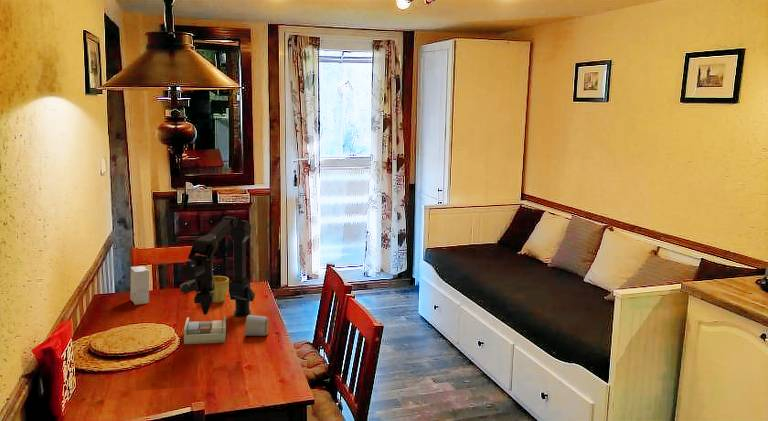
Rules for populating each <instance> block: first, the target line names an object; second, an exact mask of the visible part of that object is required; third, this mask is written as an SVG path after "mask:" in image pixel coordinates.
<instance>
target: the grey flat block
mask: <svg viewBox="0 0 768 421" xmlns="http://www.w3.org/2000/svg"><path fill="white" fill-rule="evenodd" d="M200 323H201V321H189V326H188V335H191V334H198V333H199V328H200Z"/></svg>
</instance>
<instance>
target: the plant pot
mask: <svg viewBox="0 0 768 421" xmlns="http://www.w3.org/2000/svg"><path fill="white" fill-rule="evenodd" d="M213 282H214V283H215V290H213V291H210V292H212V293H214V296H213V302H212V304H214V303H216V304H217V303H222V302H224V301H225V299H226V294H227V291H228V288H229V282H230V279H229V277H227V276H223V275H213Z"/></svg>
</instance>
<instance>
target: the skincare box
mask: <svg viewBox="0 0 768 421" xmlns="http://www.w3.org/2000/svg"><path fill="white" fill-rule="evenodd" d="M129 297H130V298H129V299H130V301H132V303H133V304H134V305H135V306H137V305H144V304H149V303H150V271H149V270H148V268H147V267H145V266H144V265H141V266H139V265H138V266H130V296H129Z"/></svg>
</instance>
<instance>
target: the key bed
mask: <svg viewBox="0 0 768 421" xmlns="http://www.w3.org/2000/svg"><path fill="white" fill-rule="evenodd" d="M226 316H227V315H223V319H222V320H223V329H222V333H212V323H213V321H211V332H210V334H200V328H199V333H198V334H191V335H188V326H189V322H190V317H188V316H187V317H186V320H185V324H184V327H183V345H197V344H198V345H199V344H216V343H217V344H218V343H226V332H227V317H226ZM200 325H201V322H200Z"/></svg>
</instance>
